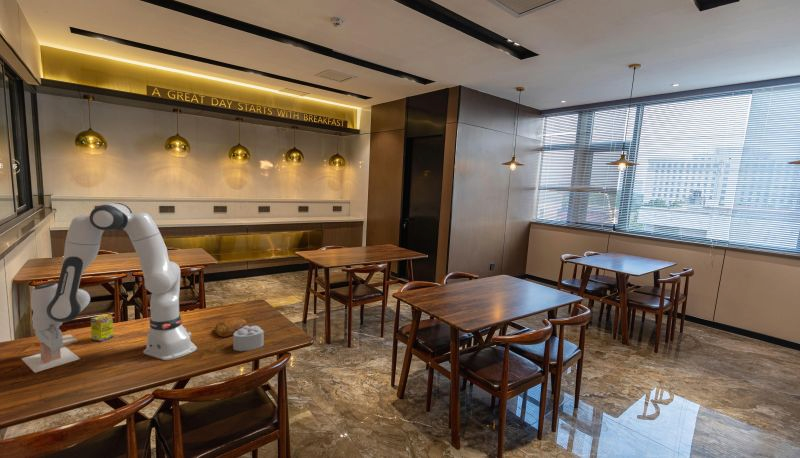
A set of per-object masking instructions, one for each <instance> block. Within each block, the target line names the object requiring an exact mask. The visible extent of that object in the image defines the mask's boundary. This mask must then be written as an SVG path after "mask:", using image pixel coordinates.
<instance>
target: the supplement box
mask: <svg viewBox="0 0 800 458" xmlns="http://www.w3.org/2000/svg"><path fill="white" fill-rule="evenodd" d="M90 331H91V341H94V342H98V343H99V342H100V343H102V342H105V341H107V340H111V339H112V338H114V321H113V315H111V314H109V315H108V314H104V313H103V314H101V315H98V316H95V317H91V318H90Z"/></svg>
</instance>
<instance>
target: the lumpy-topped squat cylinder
mask: <svg viewBox="0 0 800 458" xmlns="http://www.w3.org/2000/svg"><path fill="white" fill-rule="evenodd" d="M232 336H233V338H232V339H233V341H232V343H233V346H232V347H233V350H234V351H237V352H248V351H253V350H256V349H260V348H261V347H263V346H264V344H265V343H264V341H265V339H264V337H265V336H264V329H262V328H261V327H260V326H258V325H251V326H249V325H247V326H244V327H242V328H241V329H239V330H238V331H236V332H235V333H234V334H233V335H232Z"/></svg>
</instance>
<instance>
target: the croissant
mask: <svg viewBox="0 0 800 458" xmlns="http://www.w3.org/2000/svg"><path fill="white" fill-rule="evenodd" d="M244 326H248V323H247V320H245V319H243V318H241V317H235V316H233V317H227V318H224V319H221V320H220V321H219V322H217V324H216V325H215V326H214V332H215V333H216V334H217V335H218V336H220V337H222V338H227V337H230V336H233V334H234V333H235V332H236V331H238V330H239V329H241V328H242V327H244Z"/></svg>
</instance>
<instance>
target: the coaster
mask: <svg viewBox="0 0 800 458" xmlns="http://www.w3.org/2000/svg"><path fill="white" fill-rule="evenodd" d="M62 338H63V346H67V345H69V344H73V343H77V342H78V339H77V338H76V337H74V336H73V334H70V333H68V334H64V335H62ZM40 343H42V342H41V341H40Z"/></svg>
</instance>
